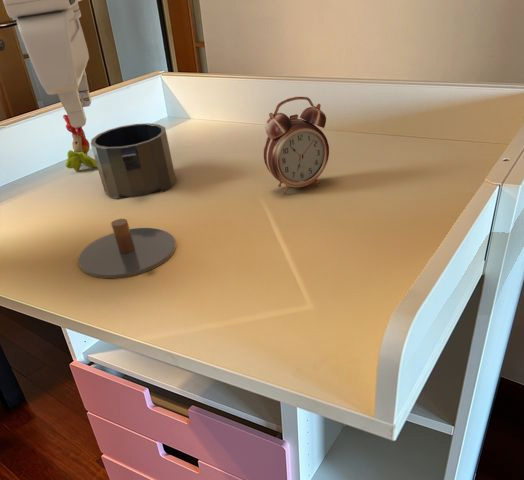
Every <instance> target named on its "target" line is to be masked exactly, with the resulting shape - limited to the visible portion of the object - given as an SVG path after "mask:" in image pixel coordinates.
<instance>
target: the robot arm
mask: <svg viewBox="0 0 524 480" xmlns="http://www.w3.org/2000/svg"><path fill="white" fill-rule="evenodd" d="M81 1H83V0H2V2H3V5H4V9H5V11H6V15H7V16H8V17H9V18H11V19H15V18H16V26H17V29H18V32H19V35H20V38H21V41H22V43H23V45H24V47H25V50H26V52H27V55H28V58H29V60H30V62H31V65H32V67H33V70H34V72H35V74H36V77H37V79H38V81H39V83H40V85H41V87H42V88H43V90H44V91H45V93H46V94H47V95H49V96H52V95H53V96H54V95H57V96H58V99H59V101H60V103H61V105H62V107H63V109H64V111H65V112H66V115H68V118H69V121H70V124H71V126H72V127H74V128H75V127H81V126H82V127H85V125H87V124H86V123H87V116H86V113H85V109H84V108H86V107H87V108H88V107H90V106H91V104H92V97H91V93H90V89H89V84H88V77H87V72H86V68H87V65H88V61H89V60H90V54H89V49H88V44H87V42H86V37H85V34H84V31H83V27H82V23H81V21H80V18H81V17H82V12H81V9H80V5H79V2H81Z"/></svg>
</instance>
